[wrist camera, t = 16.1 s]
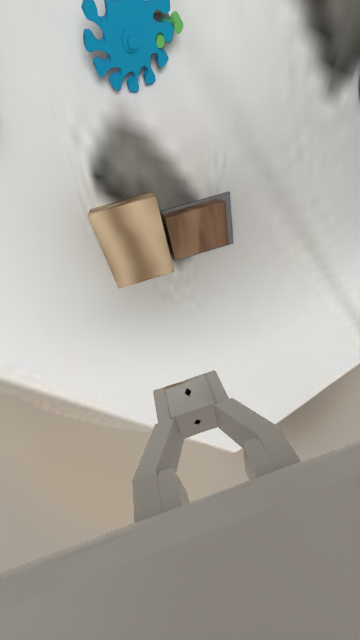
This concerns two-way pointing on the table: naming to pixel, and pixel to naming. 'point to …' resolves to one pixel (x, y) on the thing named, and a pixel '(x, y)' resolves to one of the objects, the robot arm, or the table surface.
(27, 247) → the table surface
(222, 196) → the felt pad
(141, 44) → the blue lobed piece
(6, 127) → the table surface
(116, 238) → the oak step
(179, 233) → the walnut slab
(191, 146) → the table surface
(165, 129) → the table surface
